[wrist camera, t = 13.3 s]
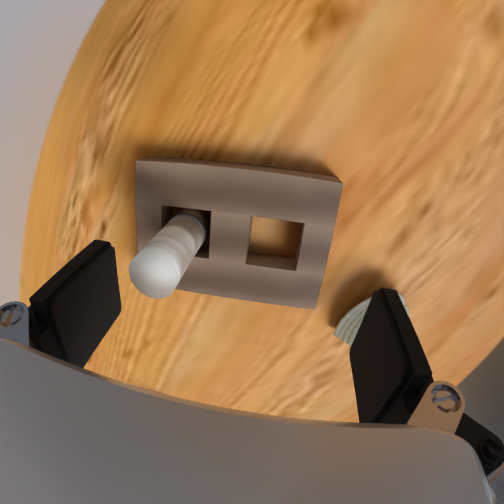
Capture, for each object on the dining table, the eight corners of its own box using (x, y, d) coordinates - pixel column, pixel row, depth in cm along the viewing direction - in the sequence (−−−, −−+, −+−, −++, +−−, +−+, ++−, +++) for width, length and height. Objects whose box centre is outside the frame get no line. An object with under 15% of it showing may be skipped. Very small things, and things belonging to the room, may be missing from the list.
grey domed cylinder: (176, 202, 33) (126, 248, 22) (213, 206, 32) (177, 256, 22) (176, 237, 34) (131, 294, 24) (211, 242, 34) (177, 303, 23)
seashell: (425, 322, 33) (390, 375, 32) (376, 296, 40) (343, 344, 39) (416, 294, 28) (374, 358, 27) (357, 267, 35) (318, 322, 34)
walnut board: (148, 156, 31) (135, 160, 28) (337, 177, 30) (343, 183, 27) (149, 270, 37) (140, 282, 34) (313, 294, 36) (314, 309, 33)
